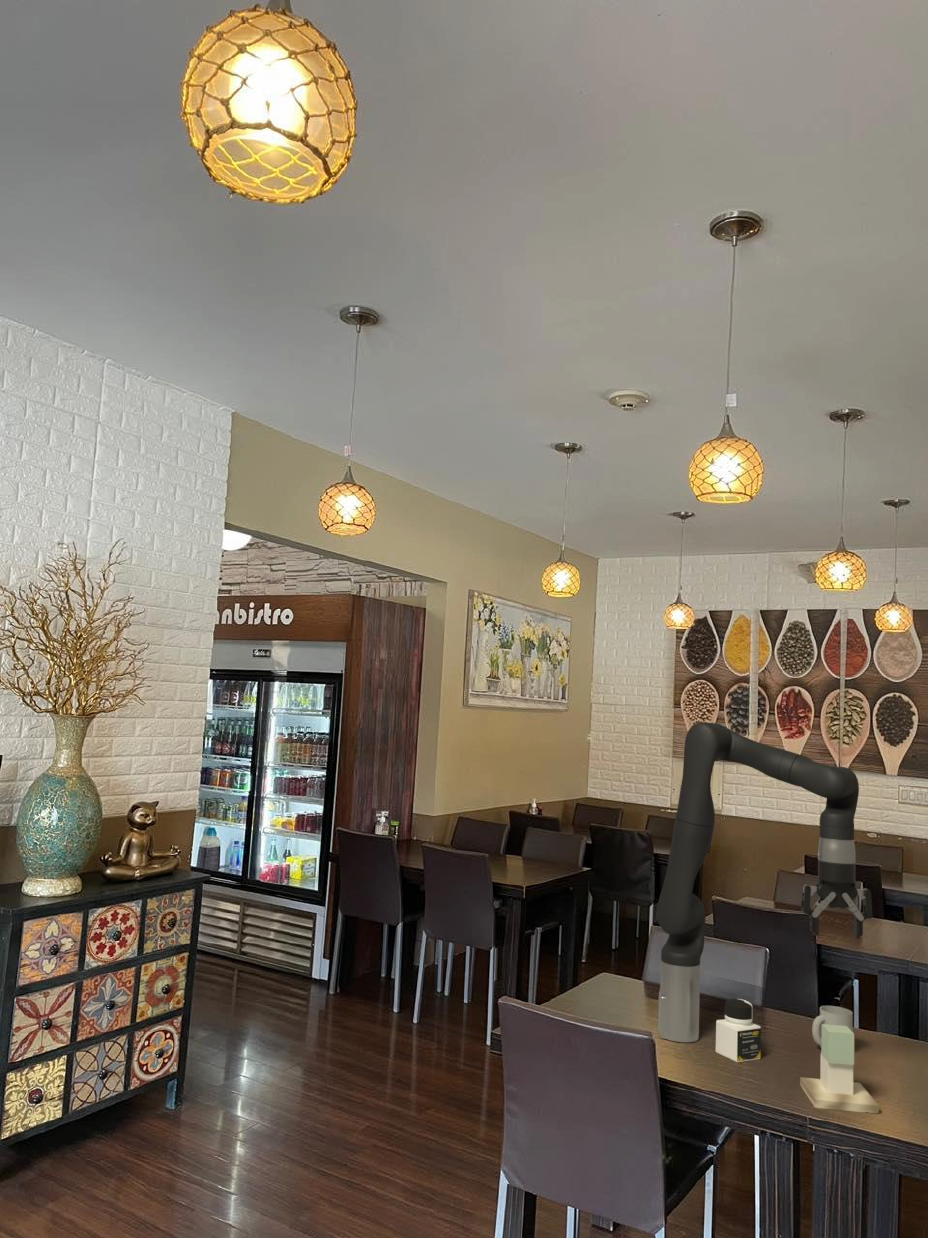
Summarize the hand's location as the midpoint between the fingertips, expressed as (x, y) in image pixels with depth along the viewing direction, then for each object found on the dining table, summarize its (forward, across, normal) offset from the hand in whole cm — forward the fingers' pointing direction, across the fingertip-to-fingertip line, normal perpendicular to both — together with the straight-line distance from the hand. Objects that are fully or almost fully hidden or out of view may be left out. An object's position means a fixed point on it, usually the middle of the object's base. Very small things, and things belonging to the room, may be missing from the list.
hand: (836, 936), depth 200 cm
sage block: (+23, -2, -9) cm, 24 cm away
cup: (+30, +5, +22) cm, 38 cm away
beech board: (+30, -2, -9) cm, 31 cm away
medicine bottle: (+30, -18, +12) cm, 37 cm away
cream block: (+29, -2, -8) cm, 30 cm away
